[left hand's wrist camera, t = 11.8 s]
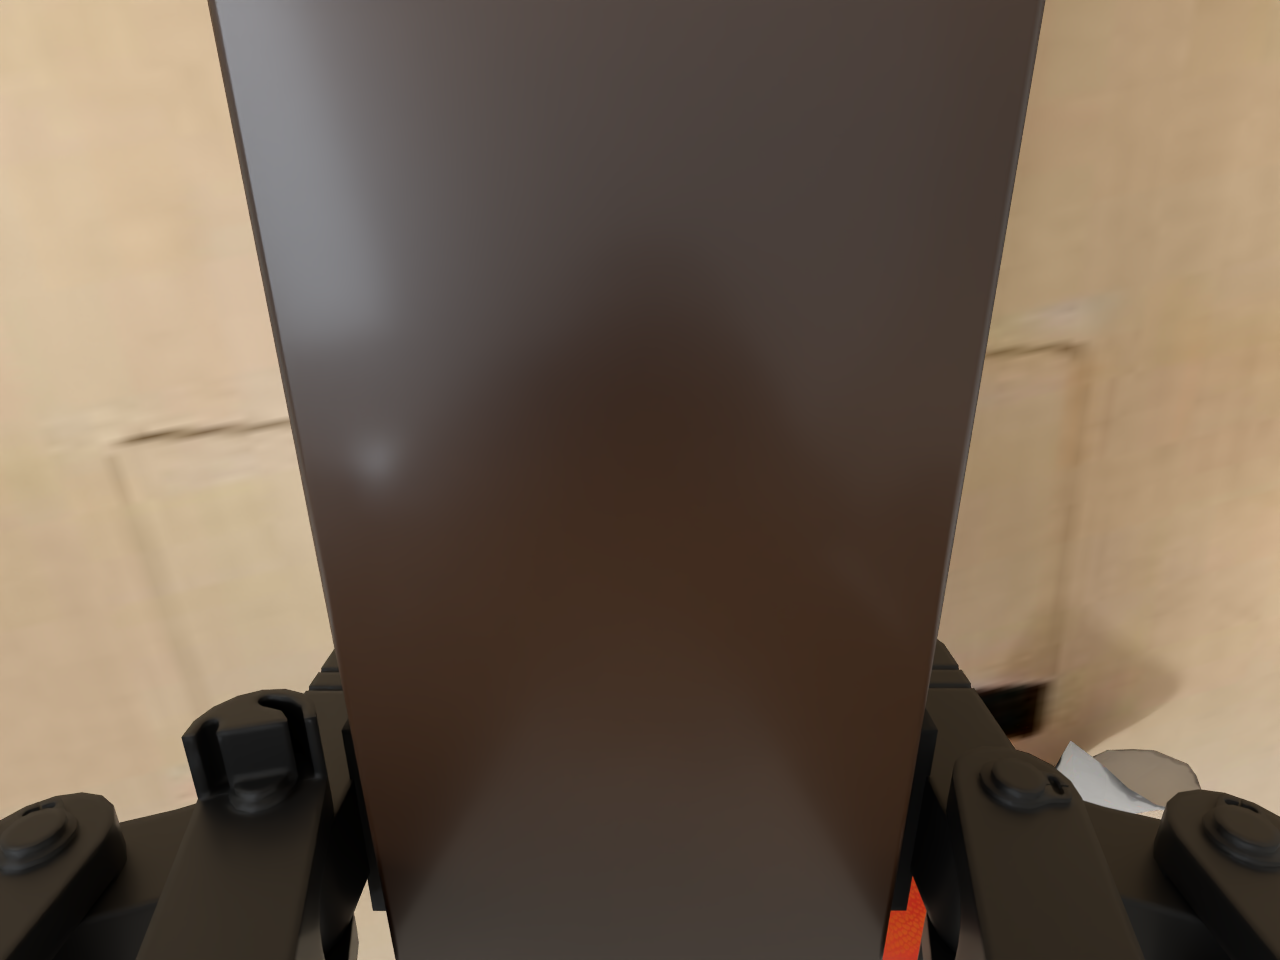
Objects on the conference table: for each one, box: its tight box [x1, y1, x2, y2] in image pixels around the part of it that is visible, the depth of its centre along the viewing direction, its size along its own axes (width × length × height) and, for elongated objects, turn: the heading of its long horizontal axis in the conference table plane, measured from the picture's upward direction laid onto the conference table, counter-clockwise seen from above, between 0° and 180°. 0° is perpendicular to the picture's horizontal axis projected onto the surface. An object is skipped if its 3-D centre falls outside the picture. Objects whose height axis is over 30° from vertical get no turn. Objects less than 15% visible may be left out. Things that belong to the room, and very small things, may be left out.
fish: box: [882, 741, 1201, 960], centre depth 26 cm, size 11×16×10 cm
